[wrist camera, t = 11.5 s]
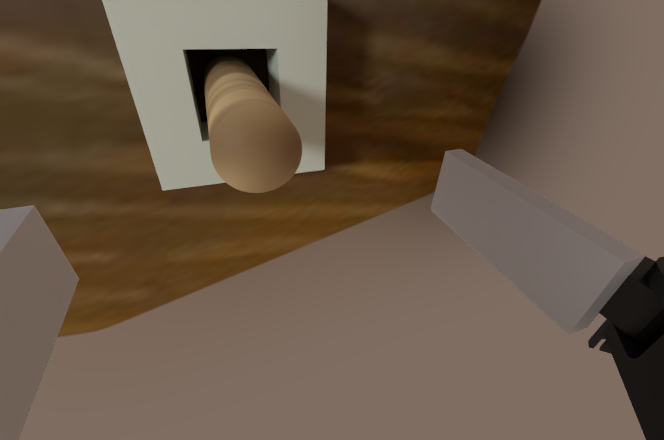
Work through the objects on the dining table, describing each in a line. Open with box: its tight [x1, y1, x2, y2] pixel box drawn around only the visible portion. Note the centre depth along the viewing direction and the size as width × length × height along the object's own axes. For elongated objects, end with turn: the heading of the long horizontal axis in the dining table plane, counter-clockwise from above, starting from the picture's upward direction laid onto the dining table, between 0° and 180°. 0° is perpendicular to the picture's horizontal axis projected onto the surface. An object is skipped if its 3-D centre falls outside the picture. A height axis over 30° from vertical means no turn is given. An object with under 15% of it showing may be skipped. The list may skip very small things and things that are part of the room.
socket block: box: [102, 0, 327, 190], centre depth 26 cm, size 14×14×5 cm
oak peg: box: [203, 55, 302, 193], centre depth 21 cm, size 4×4×16 cm
